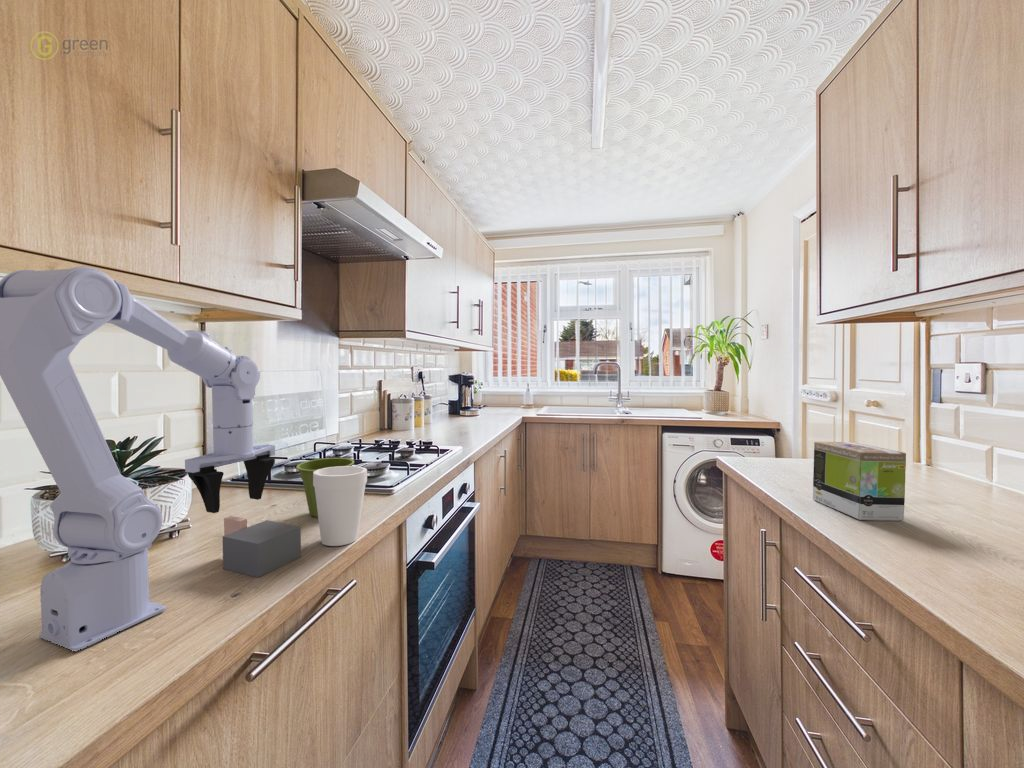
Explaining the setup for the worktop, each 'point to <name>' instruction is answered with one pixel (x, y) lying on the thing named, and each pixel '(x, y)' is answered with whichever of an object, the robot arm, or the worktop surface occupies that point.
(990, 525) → the worktop surface
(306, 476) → the plant pot
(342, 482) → the foam cup
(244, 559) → the grey square box
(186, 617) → the worktop surface
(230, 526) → the pink stepped block
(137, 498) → the robot arm
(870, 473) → the tea box
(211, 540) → the worktop surface
